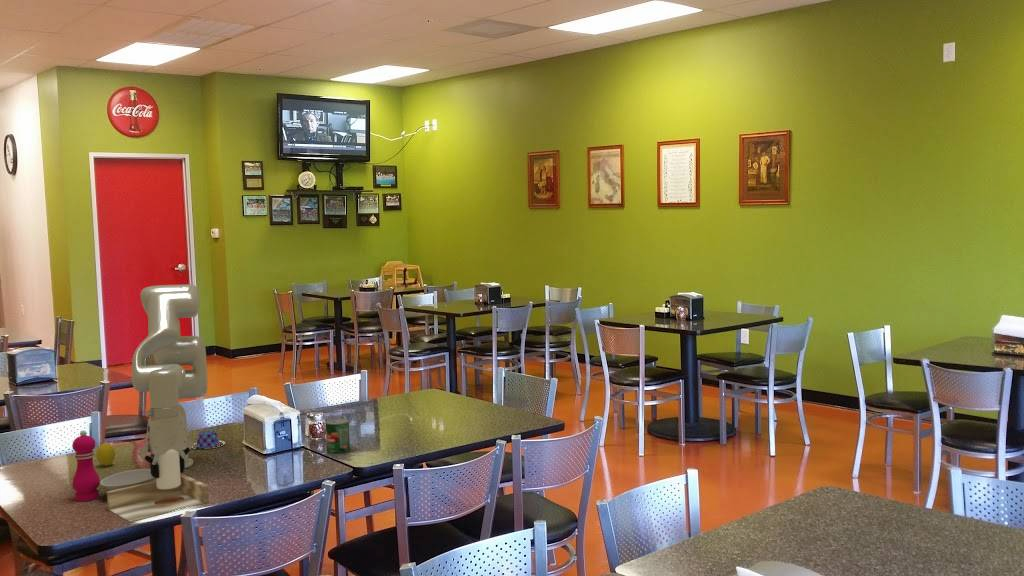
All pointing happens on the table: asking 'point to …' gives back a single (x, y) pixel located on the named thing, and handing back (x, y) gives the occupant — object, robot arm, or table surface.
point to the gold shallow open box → (156, 499)
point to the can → (169, 470)
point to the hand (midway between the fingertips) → (168, 474)
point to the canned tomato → (337, 436)
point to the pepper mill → (85, 469)
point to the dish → (127, 479)
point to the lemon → (105, 454)
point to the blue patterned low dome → (208, 440)
